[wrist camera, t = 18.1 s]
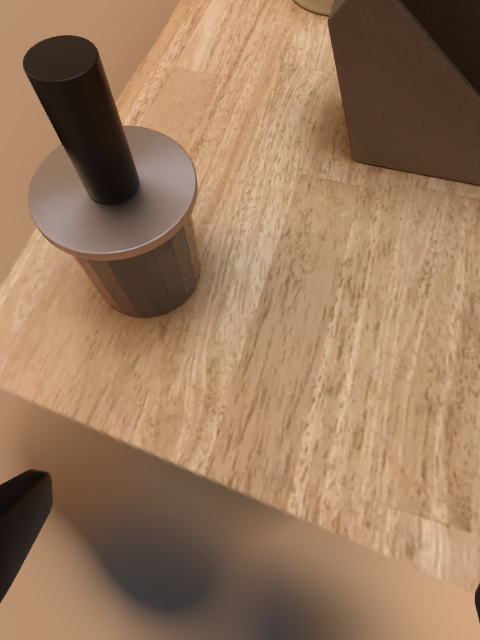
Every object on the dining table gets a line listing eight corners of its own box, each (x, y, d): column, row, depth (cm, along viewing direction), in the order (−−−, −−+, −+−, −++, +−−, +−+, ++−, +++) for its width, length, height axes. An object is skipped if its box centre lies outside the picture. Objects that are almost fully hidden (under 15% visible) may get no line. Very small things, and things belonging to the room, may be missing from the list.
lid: (229, 209, 19) (223, 77, 13) (74, 292, 17) (-17, 182, 11) (149, 114, 22) (114, -32, 16) (9, 176, 20) (-92, 37, 14)
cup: (161, 336, 24) (130, 274, 17) (75, 287, 26) (15, 212, 19) (219, 255, 27) (212, 173, 20) (138, 215, 28) (105, 126, 21)
